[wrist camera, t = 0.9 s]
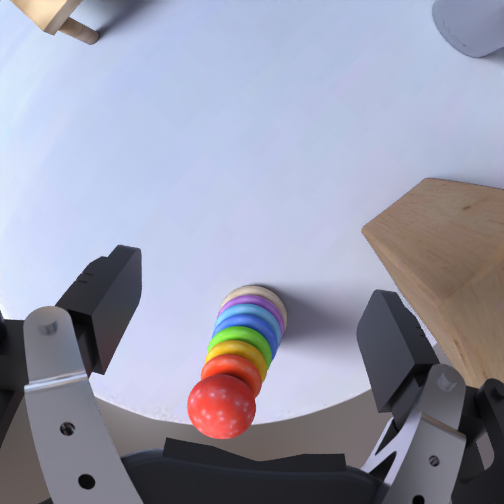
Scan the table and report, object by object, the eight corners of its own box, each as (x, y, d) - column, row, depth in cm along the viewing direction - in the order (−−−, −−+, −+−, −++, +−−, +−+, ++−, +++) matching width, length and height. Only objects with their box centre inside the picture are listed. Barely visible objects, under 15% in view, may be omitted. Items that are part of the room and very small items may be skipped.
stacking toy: (287, 283, 35) (279, 395, 17) (287, 344, 37) (277, 468, 19) (218, 282, 36) (154, 383, 18) (223, 341, 38) (176, 456, 20)
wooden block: (426, 175, 30) (552, 195, 11) (464, 246, 31) (575, 316, 12) (358, 228, 32) (434, 307, 13) (402, 295, 34) (479, 407, 15)
